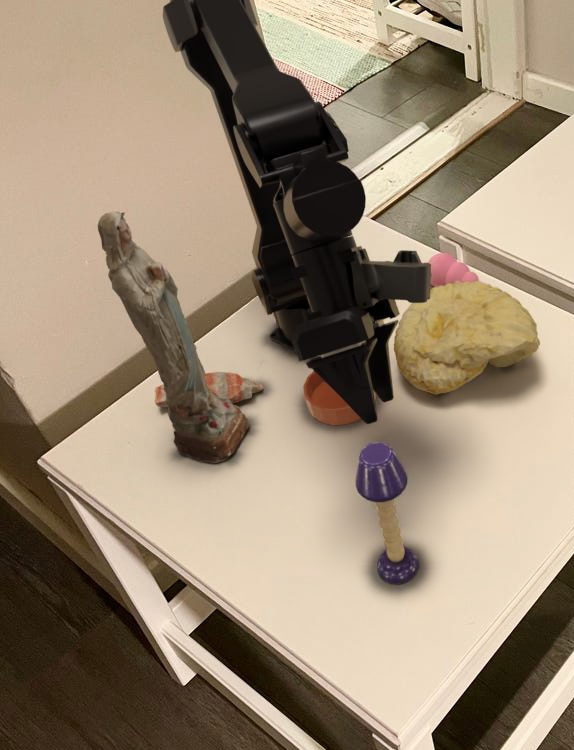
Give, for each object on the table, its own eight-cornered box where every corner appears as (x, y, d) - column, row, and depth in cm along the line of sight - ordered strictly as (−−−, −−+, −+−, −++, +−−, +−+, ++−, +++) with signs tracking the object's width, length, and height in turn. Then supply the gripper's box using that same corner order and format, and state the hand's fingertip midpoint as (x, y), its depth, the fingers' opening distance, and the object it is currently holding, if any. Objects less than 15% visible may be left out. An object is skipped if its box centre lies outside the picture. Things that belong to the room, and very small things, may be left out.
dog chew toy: (432, 244, 114) (480, 267, 112) (443, 253, 118) (490, 274, 117) (417, 277, 115) (465, 300, 113) (429, 284, 119) (475, 306, 117)
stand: (294, 408, 105) (289, 393, 103) (337, 367, 109) (333, 352, 107) (347, 434, 102) (343, 419, 100) (389, 391, 106) (386, 375, 104)
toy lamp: (369, 554, 92) (341, 444, 79) (412, 538, 92) (391, 427, 80) (385, 590, 89) (359, 483, 76) (429, 573, 90) (411, 464, 77)
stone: (150, 405, 104) (155, 372, 107) (157, 418, 106) (162, 385, 109) (256, 396, 104) (259, 363, 107) (262, 409, 106) (264, 377, 109)
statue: (227, 467, 100) (133, 239, 77) (169, 456, 102) (58, 229, 78) (255, 419, 104) (174, 189, 81) (199, 409, 106) (103, 181, 83)
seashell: (443, 330, 116) (368, 380, 106) (448, 252, 109) (368, 297, 99) (556, 377, 109) (487, 435, 99) (568, 297, 102) (495, 351, 92)
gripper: (391, 218, 70) (454, 408, 74) (420, 215, 88) (470, 368, 92) (260, 263, 72) (328, 446, 76) (314, 251, 89) (367, 400, 94)
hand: (380, 411), depth 84 cm, fingers open, 9 cm apart
